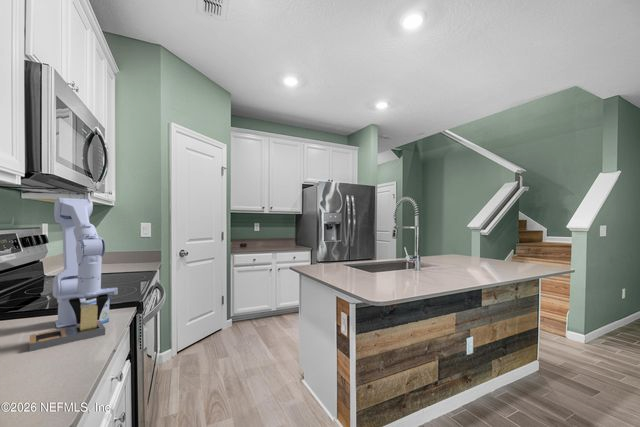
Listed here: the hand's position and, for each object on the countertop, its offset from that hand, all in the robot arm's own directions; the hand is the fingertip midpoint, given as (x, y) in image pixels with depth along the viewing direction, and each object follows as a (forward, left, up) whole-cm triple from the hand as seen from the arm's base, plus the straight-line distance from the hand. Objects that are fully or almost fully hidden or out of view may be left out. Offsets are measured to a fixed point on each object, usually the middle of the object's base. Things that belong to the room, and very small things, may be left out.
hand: (88, 321), depth 88 cm
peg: (0, 0, -3) cm, 3 cm away
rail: (0, -4, -4) cm, 6 cm away
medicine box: (-10, +3, -4) cm, 11 cm away
